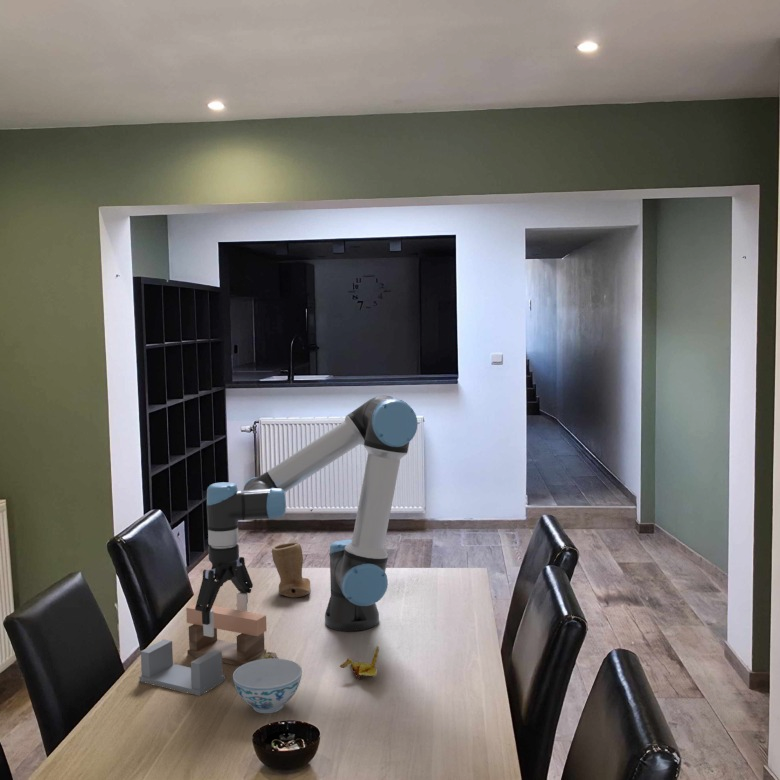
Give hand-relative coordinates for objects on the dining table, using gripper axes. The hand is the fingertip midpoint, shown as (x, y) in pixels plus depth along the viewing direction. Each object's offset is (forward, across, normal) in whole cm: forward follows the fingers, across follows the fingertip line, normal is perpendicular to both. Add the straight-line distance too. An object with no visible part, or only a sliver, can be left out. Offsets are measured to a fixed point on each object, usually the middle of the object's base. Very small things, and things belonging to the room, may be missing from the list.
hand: (226, 626), depth 209 cm
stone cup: (+8, -48, -12) cm, 50 cm away
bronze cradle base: (+7, 0, 0) cm, 7 cm away
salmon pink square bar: (0, 0, 0) cm, 0 cm away
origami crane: (+8, -3, +38) cm, 39 cm away
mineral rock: (+8, +3, +13) cm, 16 cm away
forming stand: (+7, +17, 0) cm, 18 cm away
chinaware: (+7, +19, +26) cm, 33 cm away
